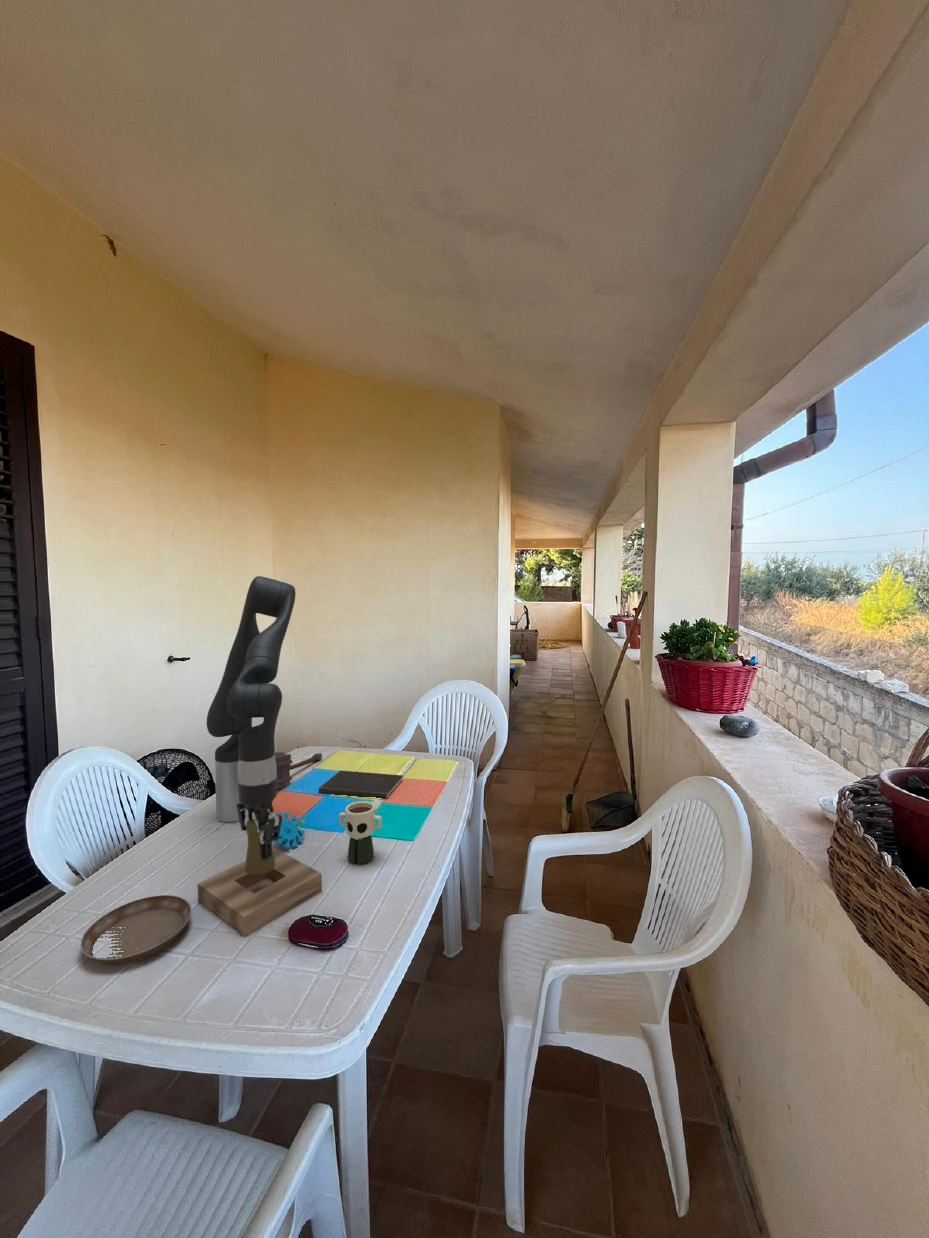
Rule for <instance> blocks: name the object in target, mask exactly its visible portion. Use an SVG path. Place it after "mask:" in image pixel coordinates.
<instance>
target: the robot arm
mask: <svg viewBox="0 0 929 1238" xmlns="http://www.w3.org/2000/svg"><path fill="white" fill-rule="evenodd" d="M296 593H297V592H296V588H295V586H294V585H293V584H290V583H287V582H284V581H281V580H277V579H273V578H269V577H266V576H263V575H262V576H260V575H256V576H255V577H254V578H253V579H252V581H251V583H250V585H249V586H248V590H247V594H246V597H245V601H244V606H243V609H242V614H241V617H240V621H239V625H238V629H237V632H236V636H235V638H234V640H233V643H232V646H231V649H230V651H229V655H228V658H227V661H226V663H225V667H224V668H225V669H224V672H223V676H222V678H221V680H220V683H219V686H218V689H217V691H216V694H215V695H214V697H213V699H212V702H211V703H210V704H211V705H210V707H209V709H208V711H207V716H206V729H207V731H208V733H209V734H210V736H211V737H214V738H224V737H227V736H228V737H229V736H230V737H229V738H228V739H227V740H226V742H224V743H222V744H221V745H219V746H218V747H217V748H216V749H215V751H214V764H215V766H214V768H215V769H214V770H215V786H214V787H215V806H216V809H215V810H216V812H215V813H216V818H217V819H216V820H218V821H219V822H222V823H233V822H239V825H240V829H241V831H242V832H244V831H245V835H246V836H247V840H248V839H249V834H248V833H247V831H246V824H247V822H248V821H249V820H250V819H253V820H254V822H255V825H256V828H257V833H260V835H259V837H260V842H261V843H260V849H261V858H262V860H266V859H268V858H270V857H271V856H272V848H273V842H275V840H277V839H278V838H279V833H280V828H281V823H282V819H283V817H282V816H283V815H282V816H281V815H278V816H276V814H275V812H274V810H275V809H274V807H273V801H274V800H275V799H276V798H277V796H278V789H277V773H276V760H275V754H276V751H275V734H276V733H275V732H276V725H277V721H278V717H279V713H280V710H281V707H282V702H283V693H282V690H281V689H280V687H279V685H277V684H276V683H272V682H273V681H274V680H275V679H276V678H277V674H278V672H279V671H278V669H279V663H280V657H281V652H282V651H281V649H282V647H283V642H284V639H285V636H286V634H287V630H288V628H289V624H290V620H291V617H292V613H293V610H294V607H295V601H296ZM257 614H260V615H264V616H266V617H267V616H268V617H272V618H275V620H274V621H273V622H272V623H271V624H270V625H269V626H267V627H266V628H265V629H264V630H262V631H261V632H260V630H259V626H258V622H257ZM254 718H255V719H257V718H263V720H262V721H263V722H262V723H261V724H259V725H254V726H253V719H254ZM264 824H267V825H268V826H267V827H265V828H261V825H264ZM265 831H266V836H264V832H265Z"/></svg>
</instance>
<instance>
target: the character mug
mask: <svg viewBox="0 0 929 1238" xmlns="http://www.w3.org/2000/svg"><path fill="white" fill-rule="evenodd" d="M344 810H345V811H344V812H340V813H339V816H338V817H339V818H338V820H339V821H338V822H339V825H340V826H341V827H345V828H344V829H345V832H346V834H347V836H348V837H349V843H348V848H347V849H348V850H347V859H348V861H349V862H350V863H352V864H355V860H357V864H364V863H367V862H370V861H371V860H372V859H373V857H374V854H375V850H374V844H373V838H372V834H373V833H374V832H375V830H381V829H382V827H383V823H382V820H383V819H382V816H381V815H376V806H375V804H374V803H372V802H371V801H368V800H367V801H366V800H365V801H364V800H362V801H361V800H360V801H354V802H351V803H350V804H348V805H346V807H345V809H344ZM344 818H345V819H344ZM376 820H377V824H376Z"/></svg>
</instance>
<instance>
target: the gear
mask: <svg viewBox="0 0 929 1238" xmlns="http://www.w3.org/2000/svg"><path fill="white" fill-rule="evenodd" d="M275 815H276V816H278V815H281V816H283V818H282V823H281V828H280V833H279V838H278V839H277V840H275V841H274V842H275V845H276V846H280V845H281V844H282V843H283V842H285V843H284V845H282V847H283V849H285V850H288V849H289V848H290V847H291V848H292V849H296V848H297V847H298V844H299V845H300V844H302V842H303V841H304V839H303V836H304V835H305V830H304V829H302V828H303V825H304V824H305V819H301V820H300V821H299V822H296V821H297V820H298V817H297V816H296V815H293V816H292V817H291V818H290V819H288V818H289V817H290V816H291V813H290V812H289V811H285V813H283V812H277V813H276V814H275ZM290 843H291V845H290Z"/></svg>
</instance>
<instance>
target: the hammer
mask: <svg viewBox="0 0 929 1238" xmlns="http://www.w3.org/2000/svg"><path fill="white" fill-rule="evenodd" d="M321 757H322V758H323V754H322V753H319V752H316V753H314V754H313V755H312V756H311V757H309V758H308V759H307V758H306V759H305V760H302V761H300V762H297V763H294V764H293V759H292V754H289V753H288V754H287V753H286V754H285V753H281V752H280V753H279V752H278V753H275V760H276V773H277V790H279V789H282V788H285V787H288V785H289V786H291V781H292V779H293V776H291V774H290V773H291V772H290V771H291V770H295V769H297V768H301V767H303V766H306V765H309V764H311V763H313V762H318V761H317V760H320V759H321V760H322V758H321ZM321 760H320V761H321Z"/></svg>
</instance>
